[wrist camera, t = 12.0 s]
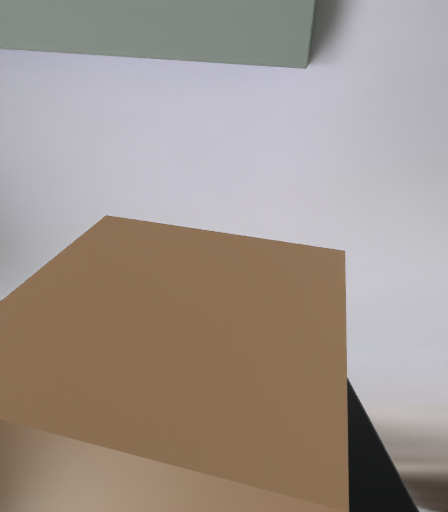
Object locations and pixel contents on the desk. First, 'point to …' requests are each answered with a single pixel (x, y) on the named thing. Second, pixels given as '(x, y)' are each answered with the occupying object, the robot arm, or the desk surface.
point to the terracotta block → (175, 376)
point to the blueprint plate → (165, 29)
